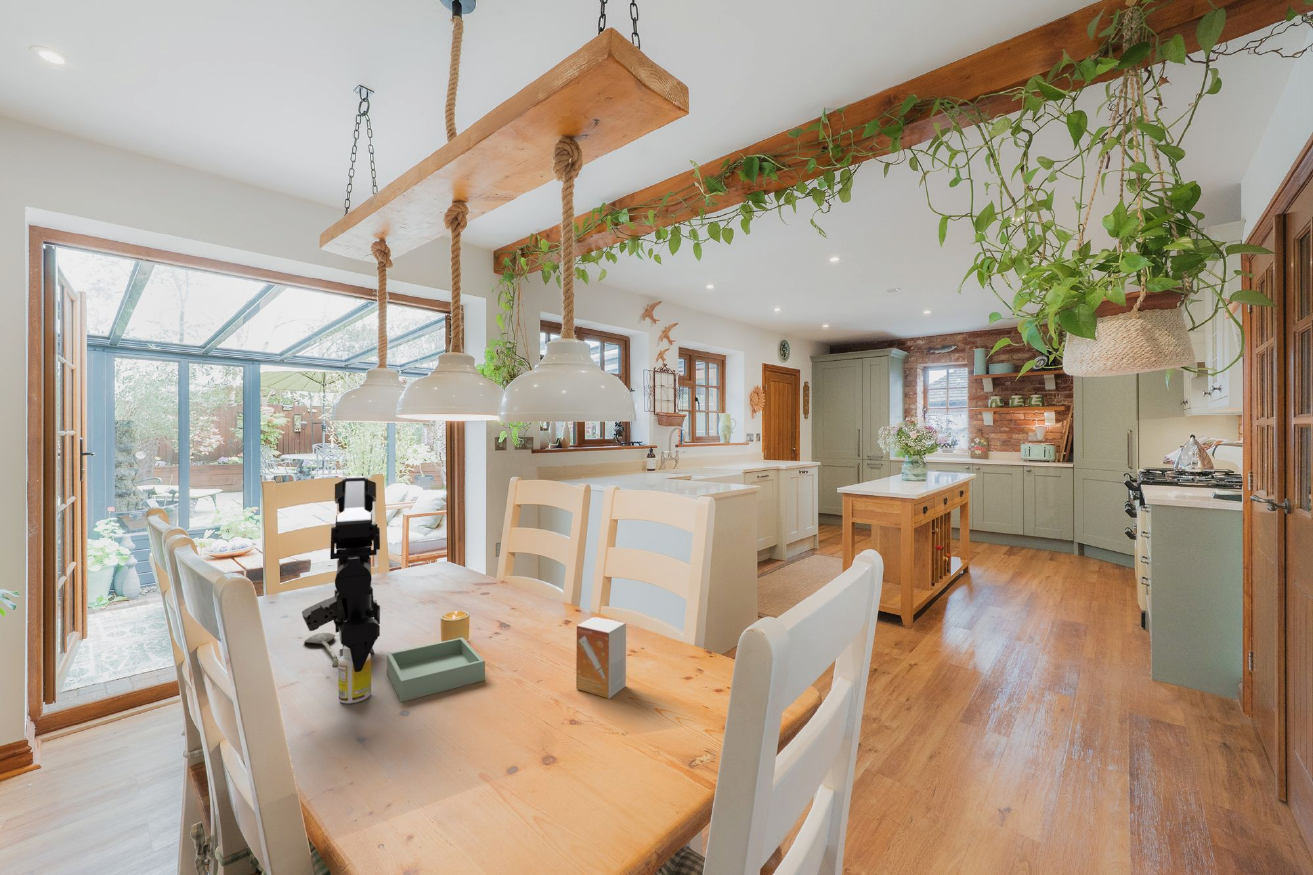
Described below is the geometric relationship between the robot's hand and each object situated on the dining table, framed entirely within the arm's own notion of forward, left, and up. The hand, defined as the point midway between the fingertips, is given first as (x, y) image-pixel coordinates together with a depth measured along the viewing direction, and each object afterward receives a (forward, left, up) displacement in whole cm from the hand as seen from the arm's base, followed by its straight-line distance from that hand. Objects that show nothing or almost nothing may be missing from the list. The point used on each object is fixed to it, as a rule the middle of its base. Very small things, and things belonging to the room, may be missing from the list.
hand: (354, 663), depth 106 cm
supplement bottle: (0, 0, -7) cm, 7 cm away
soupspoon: (-30, -3, -7) cm, 31 cm away
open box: (-1, +15, -7) cm, 16 cm away
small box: (+24, +41, -7) cm, 48 cm away
